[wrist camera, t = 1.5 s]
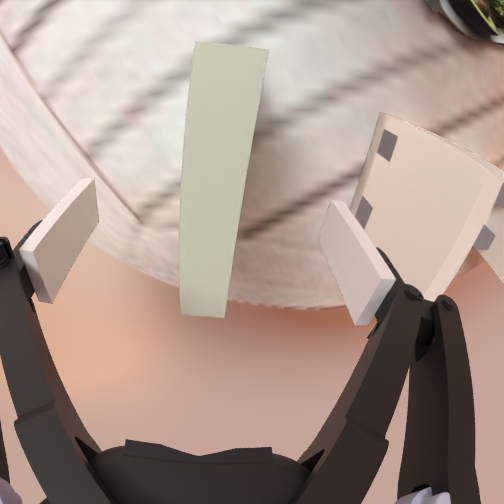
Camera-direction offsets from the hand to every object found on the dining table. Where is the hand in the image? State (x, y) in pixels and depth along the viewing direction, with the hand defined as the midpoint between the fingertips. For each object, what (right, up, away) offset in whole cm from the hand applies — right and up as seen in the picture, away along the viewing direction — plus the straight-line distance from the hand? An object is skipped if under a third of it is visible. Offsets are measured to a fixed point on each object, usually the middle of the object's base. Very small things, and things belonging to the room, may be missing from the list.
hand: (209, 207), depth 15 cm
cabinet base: (+25, +5, +12) cm, 28 cm away
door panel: (-1, +7, +8) cm, 11 cm away
